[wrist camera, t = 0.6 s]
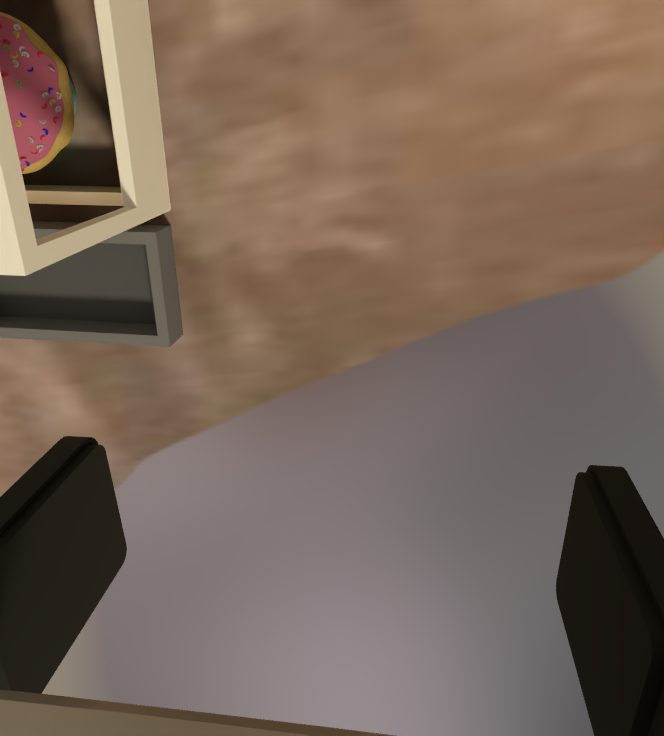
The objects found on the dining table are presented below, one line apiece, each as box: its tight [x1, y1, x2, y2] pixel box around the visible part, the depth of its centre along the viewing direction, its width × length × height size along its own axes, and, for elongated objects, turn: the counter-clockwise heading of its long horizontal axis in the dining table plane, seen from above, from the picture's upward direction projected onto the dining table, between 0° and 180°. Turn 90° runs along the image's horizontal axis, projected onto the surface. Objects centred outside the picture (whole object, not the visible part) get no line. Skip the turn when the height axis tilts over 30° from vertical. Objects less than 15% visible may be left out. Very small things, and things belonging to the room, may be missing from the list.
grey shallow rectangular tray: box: [0, 221, 183, 347], centre depth 41 cm, size 8×15×2 cm, turn 90°
